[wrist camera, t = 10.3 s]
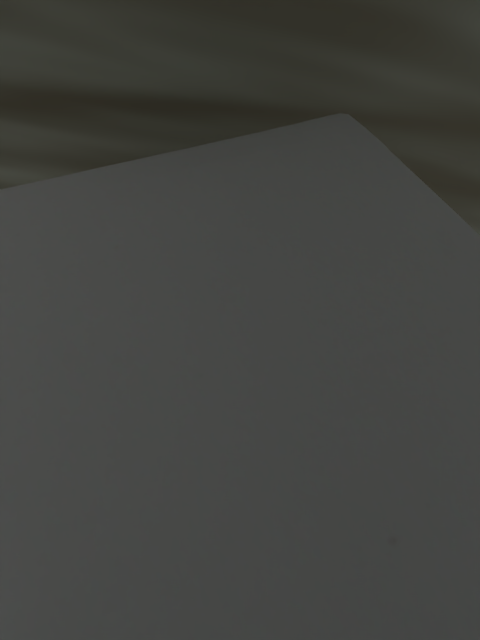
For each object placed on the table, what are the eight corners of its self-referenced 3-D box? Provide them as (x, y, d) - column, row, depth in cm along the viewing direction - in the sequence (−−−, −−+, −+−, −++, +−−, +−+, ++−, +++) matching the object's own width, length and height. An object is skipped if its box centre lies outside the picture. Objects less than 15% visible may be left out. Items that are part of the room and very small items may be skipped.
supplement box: (254, 368, 17) (358, 97, 7) (343, 527, 14) (805, 511, 4) (99, 437, 15) (-139, 192, 4) (166, 644, 12) (-67, 1672, 1)
